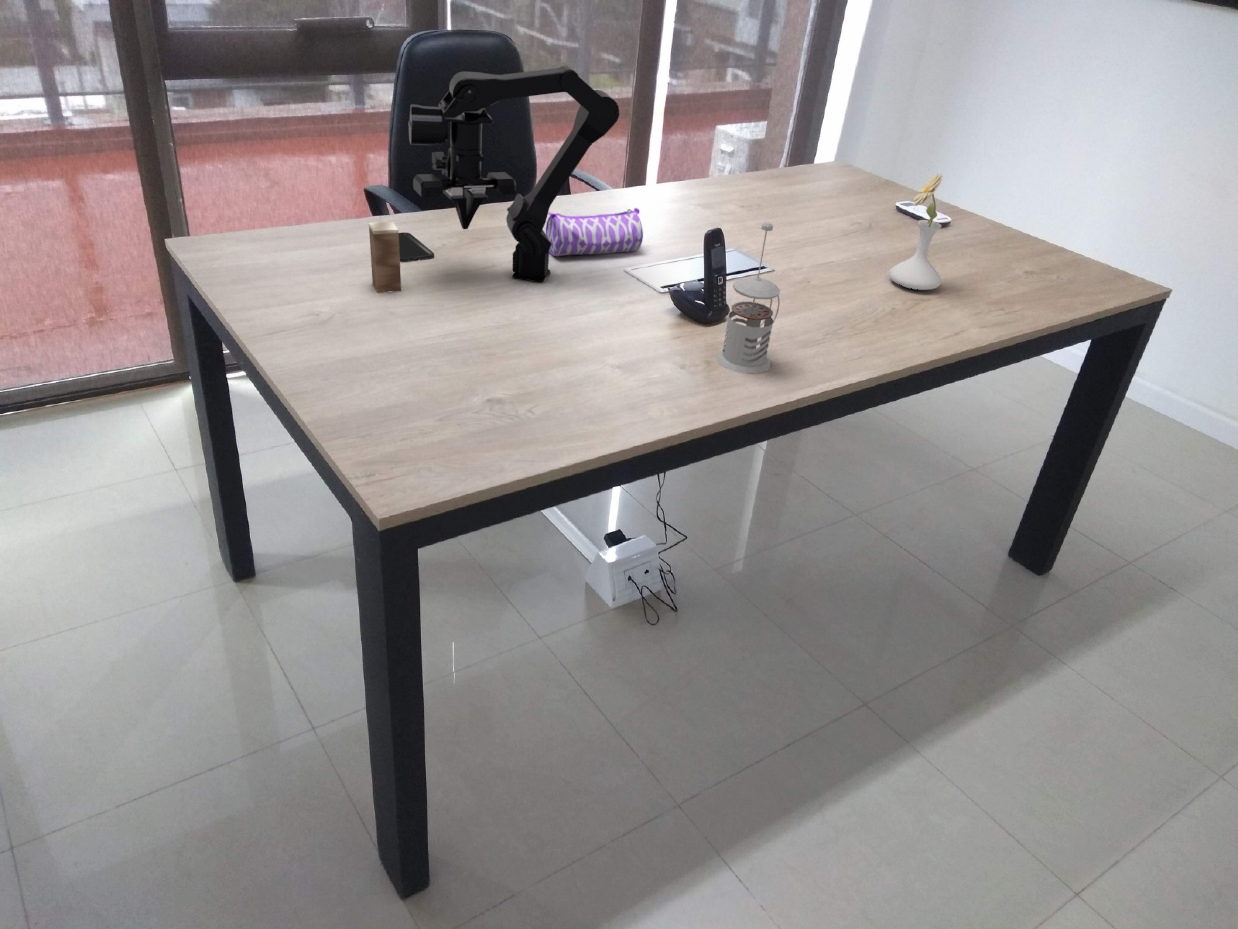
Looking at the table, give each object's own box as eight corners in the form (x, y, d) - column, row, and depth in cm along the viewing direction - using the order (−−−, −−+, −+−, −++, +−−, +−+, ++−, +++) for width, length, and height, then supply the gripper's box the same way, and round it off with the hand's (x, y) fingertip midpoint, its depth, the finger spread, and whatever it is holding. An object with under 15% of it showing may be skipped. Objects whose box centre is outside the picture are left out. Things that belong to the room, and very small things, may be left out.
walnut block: (396, 281, 177) (393, 221, 171) (401, 290, 174) (398, 229, 168) (372, 283, 176) (368, 222, 169) (377, 292, 172) (373, 230, 166)
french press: (704, 357, 161) (725, 218, 148) (745, 341, 168) (769, 207, 155) (747, 378, 155) (773, 236, 142) (788, 361, 163) (816, 224, 149)
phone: (408, 231, 200) (435, 254, 189) (408, 236, 200) (436, 259, 190) (373, 235, 196) (399, 259, 185) (373, 240, 196) (400, 264, 186)
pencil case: (627, 241, 209) (631, 200, 204) (647, 255, 203) (651, 213, 198) (539, 249, 200) (541, 207, 195) (557, 264, 193) (559, 221, 188)
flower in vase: (895, 271, 208) (924, 159, 194) (944, 284, 203) (978, 171, 190) (877, 287, 198) (907, 171, 185) (929, 301, 194) (963, 183, 180)
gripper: (497, 134, 179) (495, 213, 187) (404, 135, 171) (405, 217, 179) (519, 150, 171) (515, 231, 179) (421, 151, 163) (422, 236, 171)
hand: (464, 228), depth 177 cm, fingers closed
